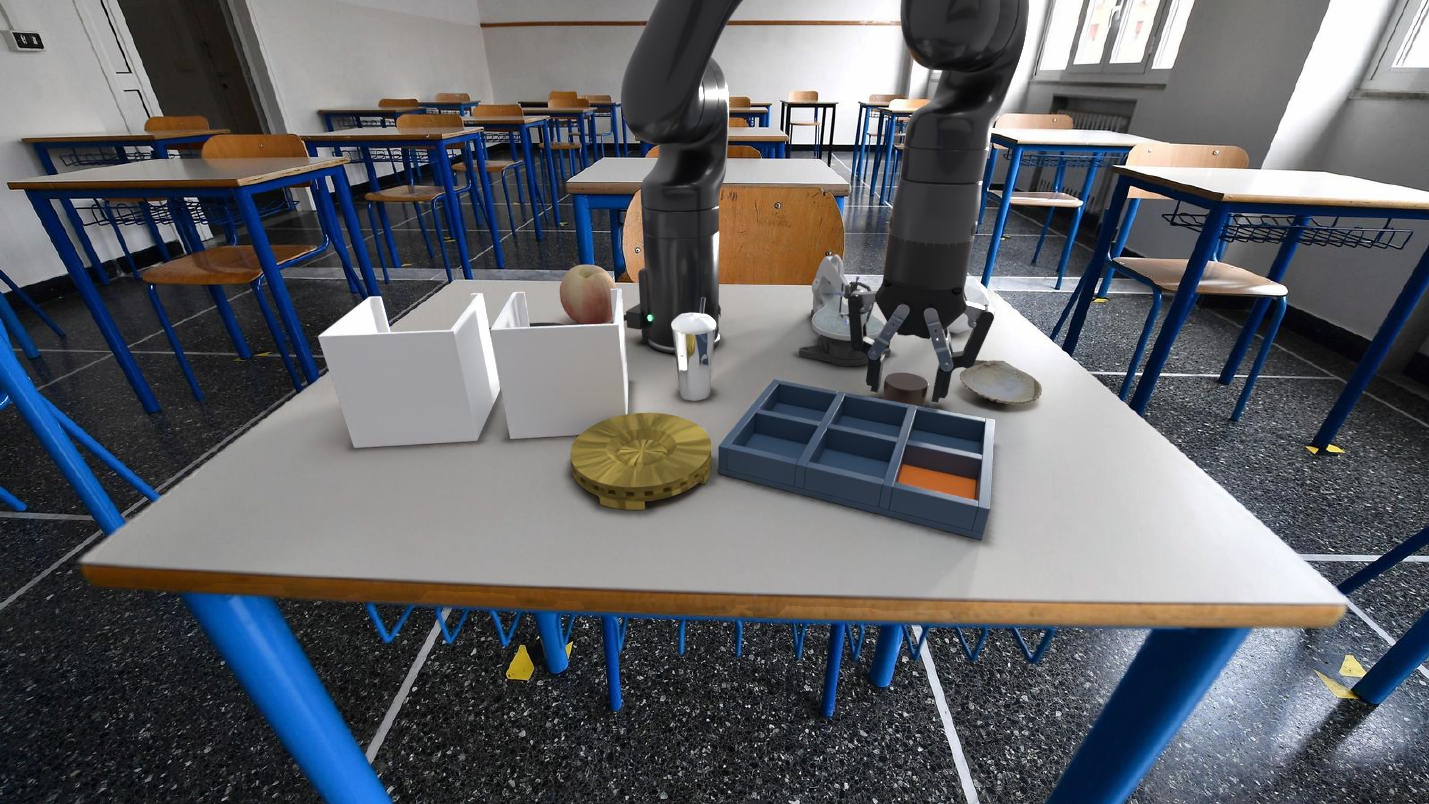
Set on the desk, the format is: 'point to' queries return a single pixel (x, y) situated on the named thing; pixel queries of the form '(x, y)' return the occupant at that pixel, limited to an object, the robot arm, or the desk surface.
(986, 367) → the seashell
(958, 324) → the geometric ball
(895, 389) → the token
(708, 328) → the milkshake
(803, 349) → the scroll saw
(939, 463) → the grid
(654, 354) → the desk surface
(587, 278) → the fruit
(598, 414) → the white open box
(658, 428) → the gold notched disc
